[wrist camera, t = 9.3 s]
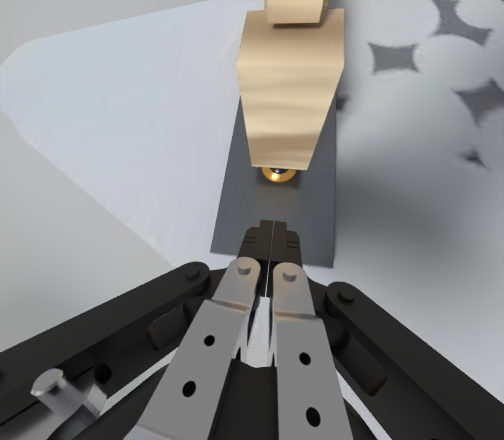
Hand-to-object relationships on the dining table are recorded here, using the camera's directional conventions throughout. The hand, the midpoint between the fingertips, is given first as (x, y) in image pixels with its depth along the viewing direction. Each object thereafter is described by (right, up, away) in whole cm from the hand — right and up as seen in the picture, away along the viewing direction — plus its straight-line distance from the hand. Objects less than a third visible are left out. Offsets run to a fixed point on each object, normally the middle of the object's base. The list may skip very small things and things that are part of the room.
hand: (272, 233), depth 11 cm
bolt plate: (+2, +10, +10) cm, 14 cm away
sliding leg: (+3, +15, +10) cm, 18 cm away
